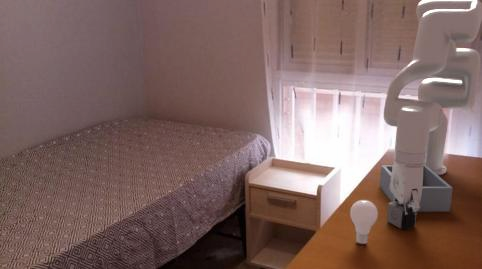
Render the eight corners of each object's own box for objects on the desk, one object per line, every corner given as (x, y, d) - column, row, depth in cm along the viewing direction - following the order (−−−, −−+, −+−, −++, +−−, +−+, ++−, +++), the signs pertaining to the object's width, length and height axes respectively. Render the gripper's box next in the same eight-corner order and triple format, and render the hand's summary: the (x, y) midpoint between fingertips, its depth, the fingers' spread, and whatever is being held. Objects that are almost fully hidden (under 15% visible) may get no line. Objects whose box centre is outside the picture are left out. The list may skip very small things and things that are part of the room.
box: (379, 186, 143) (381, 165, 141) (423, 186, 143) (426, 165, 141) (399, 211, 126) (401, 188, 124) (449, 211, 126) (452, 188, 124)
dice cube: (386, 220, 120) (388, 203, 118) (401, 216, 122) (403, 199, 120) (400, 228, 115) (402, 210, 114) (415, 224, 117) (417, 207, 116)
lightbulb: (375, 239, 111) (379, 197, 108) (374, 252, 105) (378, 208, 102) (349, 234, 113) (352, 194, 110) (346, 247, 107) (349, 204, 104)
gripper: (384, 145, 121) (378, 206, 126) (407, 168, 105) (399, 238, 110) (412, 145, 121) (405, 206, 126) (440, 168, 105) (430, 238, 110)
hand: (402, 220), depth 118 cm, fingers closed on dice cube, 6 cm apart
